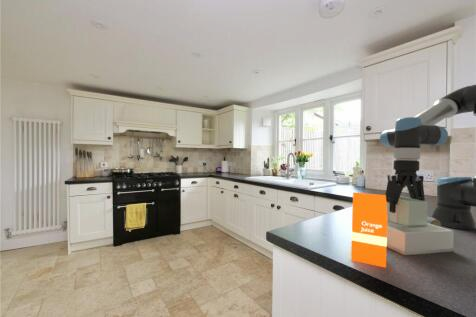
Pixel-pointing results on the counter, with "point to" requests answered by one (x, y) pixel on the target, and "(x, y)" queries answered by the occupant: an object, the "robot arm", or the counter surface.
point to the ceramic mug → (433, 221)
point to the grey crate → (419, 239)
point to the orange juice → (369, 229)
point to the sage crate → (410, 212)
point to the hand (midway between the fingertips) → (403, 221)
